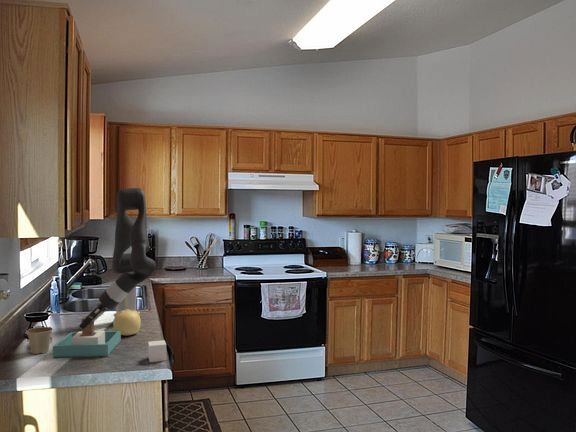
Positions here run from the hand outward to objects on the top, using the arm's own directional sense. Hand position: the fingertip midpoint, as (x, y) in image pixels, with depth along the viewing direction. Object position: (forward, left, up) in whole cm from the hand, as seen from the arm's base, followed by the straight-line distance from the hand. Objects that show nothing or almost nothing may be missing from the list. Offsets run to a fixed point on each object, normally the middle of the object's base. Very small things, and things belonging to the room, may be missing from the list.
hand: (84, 324), depth 200 cm
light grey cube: (+15, +30, -10) cm, 35 cm away
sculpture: (-22, +11, -10) cm, 27 cm away
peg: (0, +1, -9) cm, 9 cm away
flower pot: (+1, -17, -10) cm, 19 cm away
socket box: (0, +1, -10) cm, 10 cm away
